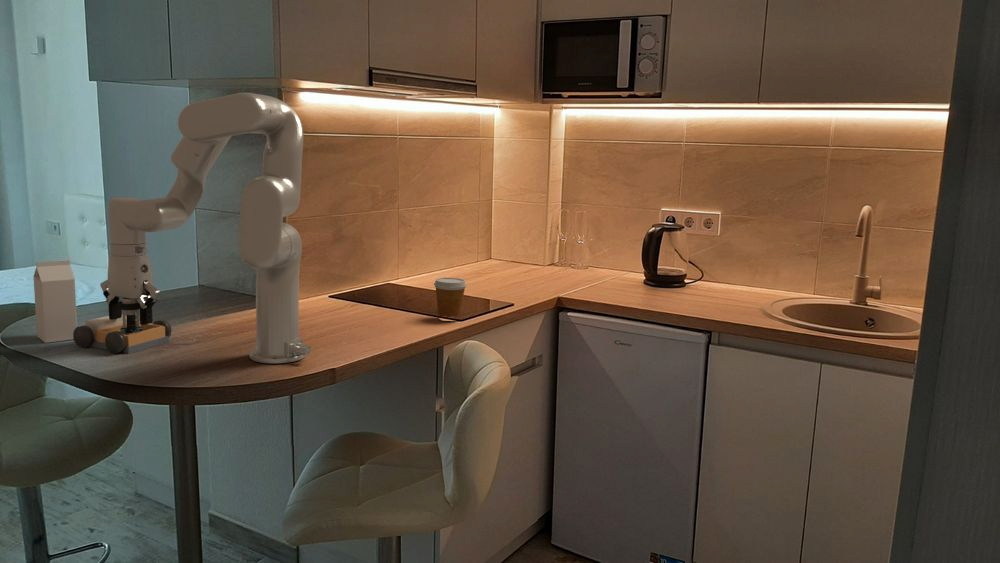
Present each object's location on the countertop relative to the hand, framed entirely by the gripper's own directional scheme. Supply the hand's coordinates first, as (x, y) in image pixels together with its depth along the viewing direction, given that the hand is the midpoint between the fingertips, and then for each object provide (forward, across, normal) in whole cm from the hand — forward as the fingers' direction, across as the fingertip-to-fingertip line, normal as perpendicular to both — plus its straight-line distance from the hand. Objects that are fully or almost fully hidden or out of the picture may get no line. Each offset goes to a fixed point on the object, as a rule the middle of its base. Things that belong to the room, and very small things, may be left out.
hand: (130, 321), depth 179 cm
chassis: (+6, +2, 0) cm, 6 cm away
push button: (+4, -1, 0) cm, 5 cm away
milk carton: (+6, +19, +5) cm, 20 cm away
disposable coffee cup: (+6, -54, -66) cm, 85 cm away
